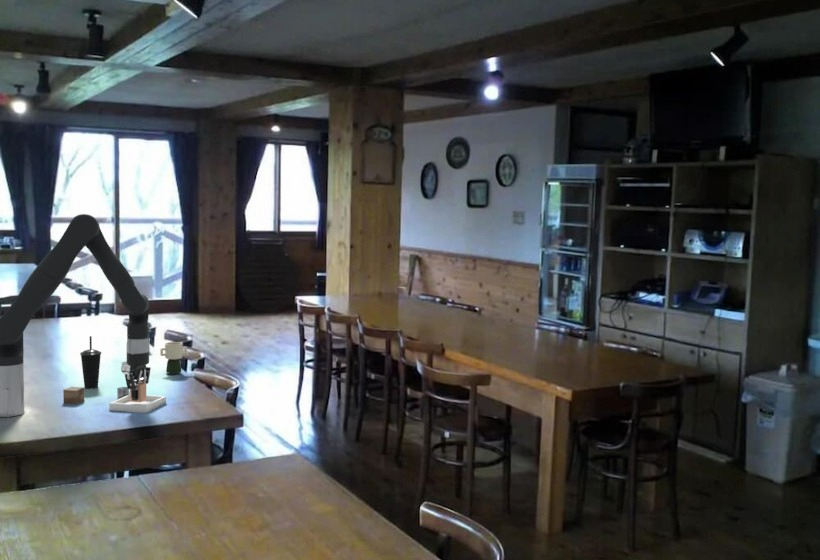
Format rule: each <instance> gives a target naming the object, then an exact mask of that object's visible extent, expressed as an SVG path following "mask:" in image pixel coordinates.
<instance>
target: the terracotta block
mask: <svg viewBox="0 0 820 560" xmlns="http://www.w3.org/2000/svg"><path fill="white" fill-rule="evenodd" d="M135 386H136V383H135ZM129 392H130V402H142V401H144V400H146V395H147V384H146V383H139V385H138V400H132V396H131V389H129Z"/></svg>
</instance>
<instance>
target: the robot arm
mask: <svg viewBox="0 0 820 560" xmlns="http://www.w3.org/2000/svg"><path fill="white" fill-rule="evenodd" d="M85 247H86V249H88V251H89V252H90V253H91V255H92V256H93V257H94V258H95V260H96V262H97V263H98V266H99V267H100V269H101V271H102V272H103V275H104V276H105V278H106V280H107V281H108V282H109V284H110V285H111V287H113V289H114V291H115V292H116V293H117V295H118V297H119V300H120V301H121V303H122V305H123V307H124V308H125V310H126V311H127V312H128V323H127V328H126V330H127V331H126V332H127V333H126V334H127V335H126V337H127V339H126V361H127V364H128V365H130V372H129V373H128V374H125V375H124V379H125V382H126V383H125V384H126V387H127V388H128V389H129V390H130V389H131V396H132V400H138V385H139V383H146V385H148V384H149V380H150V376H151V369H152V368H151V367H150V366H147V365H148V364H149V363H150V350H149V347H150V339H149V340H148V325H149V324H148V323H149V317H150V315H149V314H150V300H149V298H148V297H147V296H146V295H145V294H143V293H140V291H139V289H138V288H137V287H136V284H135V281H134V278H133V277H132V276H131V274H130V273H129V271H128V270H127V268H126V267H125V265H124V264H123V263H122V261H121V260H120V259H119V257H118V256H117V255H116V254H115V253H114V251H113V250H112V248H111V247H110V245H109V243H108V242H107V240H106V238H105V236H104V234H103V232H102V229H101V228H100V223H99V221H98V220H97V218H95V217H94V216H93V215H91V214H89V213H81V214H80V213H79V214H76V215H75V216H74V217H73V218H71V220H70V222H69V224H68V225H67V227H66V229H65V231H64V233H63V235H62V236H61V237H60V239H59V241H58V242H57V243H56V244H55V246H54V247H53V248H52V249H51V250H50V251H49V252H48V253H47V254H46V255H45V256H44V258H42V260H41V261H40V262H39V264H38V265H36V267H35V268H34V270H33V272H31V273H30V275H29V277H28V279H27V280H26V281H25V283H24V285H23V286H22V288H21V290H20V291H19V293H18V295H17V297H16V299H15V300H14V302H13V303H12V304H11V306H10V307H9V308H8V309H7V310H6V311H5V313H4V314H2V315H1V316H0V418H10V417H11V418H12V417H15V416H17V417H18V416H19V415H23V414H25V377H24V376H25V375H24V373H25V371H24V370H25V369H24V367H25V366H24V363H25V362H24V332H25V330H26V328H27V326H28V325H29V323H30V322H31V320H32V318H33V317H34V315H35V314H36V313H37V312H38V311H39V310H40V309H41V308H42V306H43V305H44V304H45V303H46V302H47V301H48V300H49V299H50V298H51V297H52V295H53V294H54V293H55V292H56V291H57V289H58V288H59V286H60V285H61V284H62V283H63V281H64V279H65V278H66V276H67V275H68V273H69V271H70V270H71V267H72V265H73V263H74V261H75V259H76V258H77V256H78V255H79V254H80V252H81V251H82V250H83V249H84V248H85ZM135 383H136V386H135Z"/></svg>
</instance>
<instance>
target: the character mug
mask: <svg viewBox="0 0 820 560" xmlns="http://www.w3.org/2000/svg"><path fill="white" fill-rule="evenodd" d="M187 349H188V347H187V346H183V342H179V341H170V342H166V343H164V347H161V348H160V350H159V351H160V356H161V357H164V358H165V359H167V361H166V369H165V370H166V371H165V372H166V373H167V374H170V373H171V374H170V375H172V374H173V375H175V374H176V375H177V374H180V373H181V372H182V365H181V360H180V359H182V358H183V356H184V355H187V354H188V350H187ZM183 350H184V351H183Z"/></svg>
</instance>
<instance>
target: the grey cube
mask: <svg viewBox="0 0 820 560" xmlns="http://www.w3.org/2000/svg"><path fill="white" fill-rule="evenodd" d="M129 392H130V389H128V388H127V386H119V387H117V392H116V393H117V396H116V398H117V399H116V400H118V399H120V398H122V397H125V396H127V395H129Z"/></svg>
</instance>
